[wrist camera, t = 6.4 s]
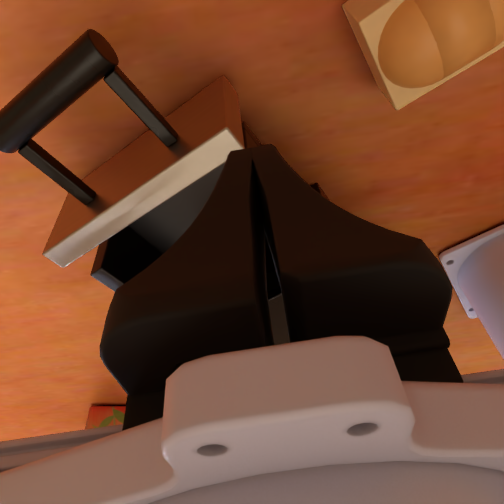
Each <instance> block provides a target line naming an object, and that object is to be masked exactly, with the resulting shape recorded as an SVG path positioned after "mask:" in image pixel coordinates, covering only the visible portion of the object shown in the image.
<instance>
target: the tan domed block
mask: <svg viewBox="0 0 504 504" xmlns="http://www.w3.org/2000/svg"><path fill="white" fill-rule="evenodd" d="M342 8H343V10H344V13H345V15H346V17H347V19H348V21H349V24H350V26H351V28H352V30H353V32H354V35H355V37H356V39H357V41H358V44H359V46H360V48H361V50H362V52H363V55H364V57H365V59H366V61H367V63H368V66H369V68H370V70H371V72H372V75H373V77H374V79H375V81H376V83H377V86H378V87H379V89H380V90H381V91H382V93H383V94H384V95H385V96H386V98H387V99H388V100H389V102H390V103H391V104H392V106H393V107H394V108H395V110H399V109H401V108H402V107H404V106H406V105H407V104H409V103H411V102H412V101H414V100H416V99H417V98H419V97H421V96H422V95H424V94H426V93H427V92H429V91H431V90H432V89H434V88H436V87H437V86H439V85H441V84H442V83H444V82H446V81H448V80H449V79H451V78H453V77H454V76H456V75H458V74H459V73H461V72H463V71H464V70H466V69H468V68H469V67H471V66H473V65H474V64H476V63H478V62H479V61H481V60H483V59H484V58H486V57H488V56H489V55H491V54H493V53H494V52H496V51H498V50H499V49H501V48H503V47H504V0H348V1H347V2H345V3H344V4H343V5H342Z"/></svg>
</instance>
